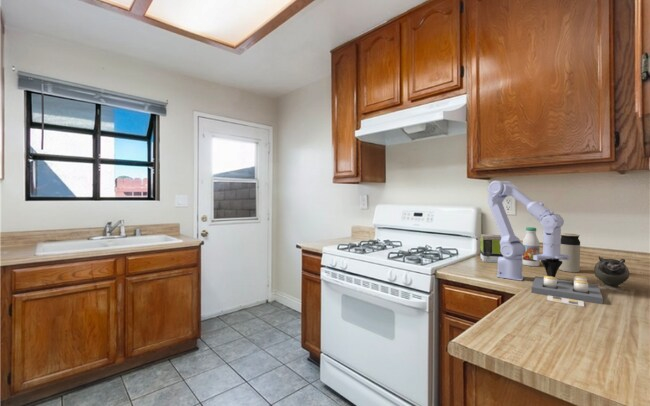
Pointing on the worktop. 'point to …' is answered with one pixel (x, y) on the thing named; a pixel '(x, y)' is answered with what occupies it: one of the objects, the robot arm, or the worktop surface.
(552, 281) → the near-left button
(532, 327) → the worktop surface
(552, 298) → the card
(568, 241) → the travel mug
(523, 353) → the worktop surface
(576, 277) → the far-right button
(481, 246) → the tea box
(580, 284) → the near-right button
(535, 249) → the milk bottle
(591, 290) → the button board
